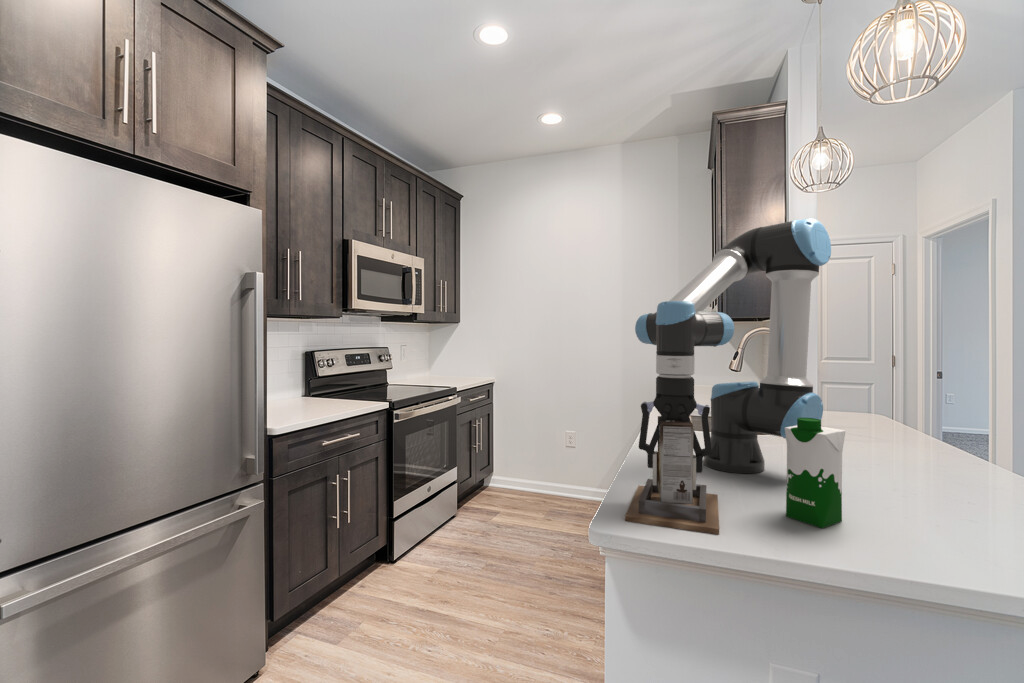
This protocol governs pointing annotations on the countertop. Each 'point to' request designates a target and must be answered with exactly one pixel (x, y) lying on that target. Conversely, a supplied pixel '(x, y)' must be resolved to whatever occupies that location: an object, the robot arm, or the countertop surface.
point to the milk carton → (814, 473)
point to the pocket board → (675, 510)
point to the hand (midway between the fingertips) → (674, 485)
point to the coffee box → (675, 461)
